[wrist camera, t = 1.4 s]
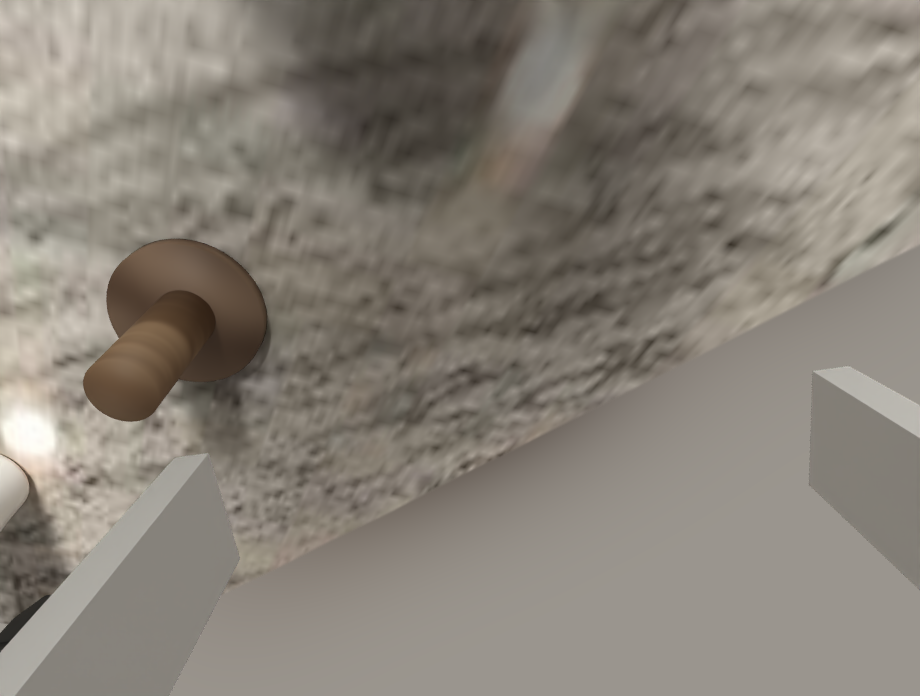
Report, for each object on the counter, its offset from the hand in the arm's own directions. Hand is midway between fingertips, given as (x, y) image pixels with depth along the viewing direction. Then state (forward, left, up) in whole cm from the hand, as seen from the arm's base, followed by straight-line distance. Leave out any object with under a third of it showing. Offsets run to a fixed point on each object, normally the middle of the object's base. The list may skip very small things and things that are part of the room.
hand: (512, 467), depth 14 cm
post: (+13, -14, -23) cm, 30 cm away
